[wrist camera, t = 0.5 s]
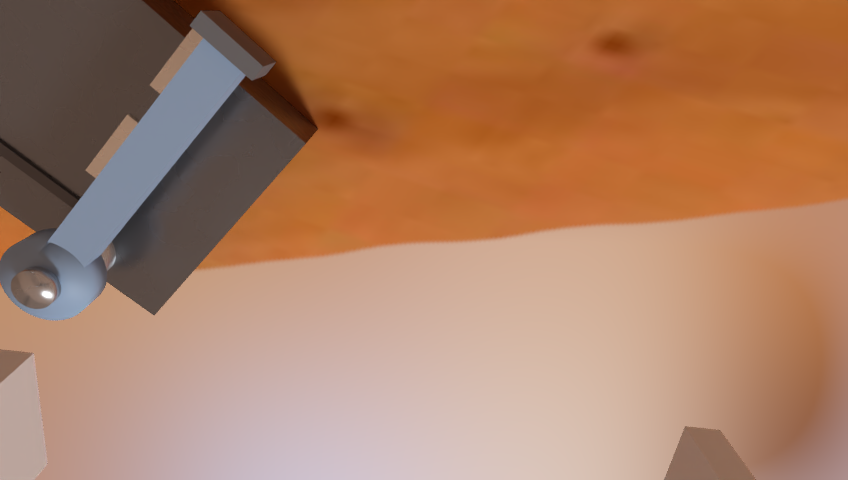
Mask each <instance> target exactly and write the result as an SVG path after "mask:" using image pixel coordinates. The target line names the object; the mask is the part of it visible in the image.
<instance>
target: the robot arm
mask: <svg viewBox="0 0 848 480" xmlns="http://www.w3.org/2000/svg"><path fill="white" fill-rule="evenodd" d="M47 464H48V463H47V455H46V447H45V439H44V431H43V424H42V416H41V407H40V399H39V391H38V384H37V375H36V367H35V360H34V353H27V352H19V351H10V350H0V480H35V479H36V477H37V476H38V475H39V474H40V472H41V471H42V470H43V469H44V468H45V466H46V465H47ZM664 480H756V479H755V478H754V476H753V475H752V473H751V472H750V471H749V470H748V468H747V467H746V465H745V464H744V462H743V461H742V460H741V458H740V457H739V456H738V454H737V453H736V451H735V450H734V449H733V447H732V446H731V444H730V443H729V442H728V440H727V439H726V438H725V436H724V435H723V434H722V432H721V431H720V430H713V429H704V428H696V427H687V426H686V427H685V428H684V431H683V433H682V436H681V438H680V441H679V444H678V446H677V449H676V451H675V454H674V456H673V459H672V461H671V464H670V466H669V469H668V471H667V474H666V477H665V479H664Z"/></svg>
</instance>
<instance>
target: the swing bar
mask: <svg viewBox="0 0 848 480" xmlns="http://www.w3.org/2000/svg"><path fill="white" fill-rule="evenodd" d="M190 27H191V28H193V29H194V30H195V31H196V32H197V33H198V34H199V35H201V36H202V37H203V39H202V40H201V42H200V43H199V44H198V46H197V47H196V48H195V49H194V51H193V52H192V53H191V55H190V56H189V57H188V59H187V60H186V61H185V63H184V64H183V65H182V66H181V68H180V69H179V70H178V72H177V73H176V74H175V76H174V77H173V78H172V80H171V81H170V82H169V83H168V85H167V86H166V87H165V89H164V90H163V91H162V93H161V94H160V95H159V97H158V98H157V99H156V100H155V102H154V103H153V104H152V106H151V107H150V108H149V110H148V111H147V112H146V114H145V115H144V116H143V117H142V119H141V120H140V121H139V123H138V124H137V125H136V127H135V128H134V129H133V131H132V132H131V133H130V134H129V136H128V137H127V138H126V140H125V141H124V142H123V144H122V145H121V146H120V147H119V149H118V150H117V151H116V153H115V154H114V155H113V157H112V158H111V159H110V161H109V162H108V163H107V164H106V166H105V167H104V168H103V170H102V171H101V172H100V174H99V175H98V176H97V178H96V179H95V180H94V181H93V183H92V184H91V185H90V187H89V188H88V189H87V191H86V192H85V193H84V195H83V196H82V197H81V198H80V200H79V201H78V202H77V204H76V205H75V206H74V208H73V209H72V210H71V212H70V213H69V214H68V215H67V217H66V218H65V219H64V221H63V222H62V223H61V225H60V226H59V227H58V228H50V229H44V230H40V231H38V232H36V233H34V234H32V235H30V236H29V237H27V238H25V239H23V240H22V241H20V242H18V243H16V244H15V245H13V246H11V247H10V248H9V249H8V250H7V251H6V252H5V253H4V254H3V256H2V258H1V260H0V283H1V285H2V288H3V289H4V291H5V293H6V294H7V296H8V297H9V298H10V299H11V301H12V302H13V303H15V305H17V306H18V307H19V308H20V309H22V310H23V311H25V312H27V313H28V314H30V315H33V316H35V317H38V318H42V319H46V320H64V319H68V318H71V317H74V316H76V315H77V314H78V313H80V312H81V311H82V310H84V309H85V308H86V307H87V306H88V305H89V304H90V303H91V302H92V301H93V300H95V299H96V298H97V297H98V296H99V295H100V294H101V292H102V291H103V289H104V288H105V285H106V282H107V269H106V265H105V262H104V260H103V258H102V256H101V254H102V253H103V252H104V250H105V249H106V248H107V247H108V245H109V244H110V243H111V242H112V240H113V239H114V238H115V237H116V235H117V234H118V233H119V232H120V231H121V229H122V228H123V227H124V226H125V224H126V223H127V222H128V221H129V219H130V218H131V217H132V216H133V214H134V213H135V212H136V211H137V210H138V208H139V207H140V206H141V205H142V203H143V202H144V201H145V200H146V198H147V197H148V196H149V195H150V193H151V192H152V191H153V190H154V188H155V187H156V186H157V185H158V184H159V182H160V181H161V180H162V179H163V177H164V176H165V175H166V174H167V172H168V171H169V170H170V169H171V167H172V166H173V165H174V164H175V163H176V161H177V160H178V159H179V158H180V156H181V155H182V154H183V153H184V151H185V150H186V149H187V148H188V146H189V145H190V144H191V143H192V141H193V140H194V139H195V138H196V137H197V135H198V134H199V133H200V132H201V130H202V129H203V128H204V127H205V125H206V124H207V123H208V122H209V120H210V119H211V118H212V117H213V116H214V114H215V113H216V112H217V111H218V109H219V108H220V107H221V106H222V104H223V103H224V102H225V101H226V99H227V98H228V97H229V96H230V94H231V93H232V92H233V91H234V90H235V88H236V87H237V86H238V85H239V83H240V82H241V81H242V80H243V78H244V77H245V76H247V77H248V78H249V79H250V80H252V81H253V80H255V79H257V78H260V77H262V76H265V75H266V74H267V73H268V72H269V70H270V69H271V68H272V67H273V66H274V64H275V63H276V61H275V60H274V59H272V58H271V57H270V56H269V55H268V54H267V53H266V52H265V51H264V50H263V49H261V48H260V47H259V46H258V45H257V44H256V43H255V42H254V41H253V40H251V39H250V38H249V37H248V36H247V35H246V34H245V33H244V32H243V31H242V30H240V29H239V28H238V27H237V26H236V25H235V24H234V23H233V22H232V21H231V20H229V19H228V18H227V17H226V16H225V15H224V14H223V13H222V12H221V11H200V12H199V14H198V15H197V16H196V18H195V19H194V20H193V22H192V23H191V24H190ZM32 266H38V267H43V268H45V269H48V270H49V271H51V272H52V273H53V274H54V275H55V276H56V277H57V278H58V280H59V281H60V284H61V294H60V296H59V297H58V299H56V300H55V301H54V302H53V303H51V304H50V305H49V306H47V307H46V308H42V309H32V308H29V307H26V306H24V305H23V304H21V303H20V302H19V301H17V299H16V298H15V297H14V295H13V294H12V291H11V281H12V279H13V277H14V276H15V275H17V274H18V273H20V272H21V271H23V270H24V269H26V268H28V267H32Z"/></svg>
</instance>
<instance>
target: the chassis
mask: <svg viewBox="0 0 848 480" xmlns="http://www.w3.org/2000/svg"><path fill="white" fill-rule="evenodd" d="M193 20H194V18H193V17H192V16H191V15H189V14H188V13H187V12H186V11H185V10H184V9H183V8H182V7H180V6H179V5H178V4H177V3H176V2H175V1H174V0H0V206H1V207H2V208H3V209H5V210H6V211H8V212H9V213H10V214H12V215H13V216H15V217H16V218H18V219H19V220H20V221H22V222H23V223H25V224H26V225H27V226H29V227H30V228H32V229H33V230H34V231H36V232H38V231H40V230H44V229H50V228H58V227H59V226H60V225H61V223H62V222H63V221H64V219H65V218H66V217H67V215H68V214H69V213H70V212H71V210H72V209H73V208H74V206H75V205H76V204H77V202H78V201H79V200H80V198H81V197H82V196H83V195H84V193H85V192H86V191H87V189H88V188H89V187H90V185H91V184H92V183H93V181H94V180H95V179H96V178H97V176H98V175H99V174H100V172H101V171H102V170H103V168H104V167H105V166H106V164H107V163H108V162H109V161H110V159H111V158H112V157H113V155H114V154H115V153H116V151H117V150H118V149H119V147H120V146H121V145H122V144H123V142H124V141H125V140H126V138H127V137H128V136H129V134H130V133H131V132H132V131H133V129H134V128H135V127H136V125H137V124H138V123H139V121H140V120H141V119H142V117H143V116H144V115H145V114H146V112H147V111H148V110H149V108H150V107H151V106H152V104H153V103H154V102H155V100H156V99H157V98H158V97H159V95H160V94H161V93H162V91H163V90H164V89H165V87H166V86H167V85H168V83H169V82H170V81H171V80H172V78H173V77H174V76H175V74H176V73H177V72H178V70H179V69H180V68H181V66H182V65H183V64H184V63H185V61H186V60H187V59H188V57H189V56H190V55H191V53H192V52H193V51H194V49H195V48H196V47H197V46H198V44H199V43H200V42H201V40H202V39H203V37H202V36H201V35H199V34H198V33H197V32H196V31H195V30H194V29H193V28H191V27H190V24H191V23H192V22H193ZM317 130H318V128H317V127H315V126H314V125H313V124H312V123H311V122H310V121H309V120H308V119H306V118H305V117H304V116H303V115H302V114H301V113H300V112H299V111H297V110H296V109H295V108H294V107H293V106H292V105H291V104H290V103H288V102H287V101H286V100H285V99H284V98H283V97H282V96H281V95H279V94H278V93H277V92H276V91H275V90H274V89H273V88H272V87H270V86H269V85H268V84H267V83H266V82H265V81H264V80H263V79H261V78H257V79H255V80H253V81H252V80H250V79H249V78H248V77H247V76H245V77H244V78H243V80H242V81H241V82H240V83H239V85H238V86H237V87H236V88H235V90H234V91H233V92H232V93H231V94H230V96H229V97H228V98H227V99H226V101H225V102H224V103H223V104H222V106H221V107H220V108H219V109H218V111H217V112H216V113H215V114H214V116H213V117H212V118H211V119H210V120H209V122H208V123H207V124H206V125H205V127H204V128H203V129H202V130H201V132H200V133H199V134H198V135H197V137H196V138H195V139H194V140H193V141H192V143H191V144H190V145H189V146H188V148H187V149H186V150H185V151H184V153H183V154H182V155H181V156H180V158H179V159H178V160H177V161H176V163H175V164H174V165H173V166H172V167H171V169H170V170H169V171H168V172H167V174H166V175H165V176H164V177H163V179H162V180H161V181H160V182H159V184H158V185H157V186H156V187H155V188H154V190H153V191H152V192H151V193H150V195H149V196H148V197H147V198H146V200H145V201H144V202H143V203H142V205H141V206H140V207H139V208H138V210H137V211H136V212H135V213H134V214H133V216H132V217H131V218H130V219H129V221H128V222H127V223H126V224H125V226H124V227H123V228H122V229H121V231H120V232H119V233H118V234H117V235H116V237H115V238H114V239H113V240H112V242H111V243H110V244H109V245H108V247H107V248H106V249H105V250H104V252H103V253H102V254H101V256H102V258H103V260H104V262H105V265H106V269H107V282H108V283H109V284H111V285H112V286H113V287H115V288H116V289H118V290H119V291H120V292H122V293H123V294H125V295H126V296H127V297H129V298H131V299H132V300H133V301H135V302H136V303H137V304H139V305H140V306H142V307H143V308H144V309H146V310H147V311H149V312H150V313H152V314H153V315H155V314H156V313H157V312H158V311H159V309H160V308H161V307H162V306H163V305H164V304H165V302H166V301H167V300H168V299H169V298H170V297H171V296H172V295H173V293H174V292H175V291H176V290H177V289H178V288H179V287H180V286H181V284H182V283H183V282H184V281H185V280H186V278H188V276H189V275H190V274H191V273H192V272H193V271H194V270H195V269H196V267H197V266H198V265H199V264H200V263H201V262H202V261H203V259H204V258H205V257H206V256H207V255H208V254H209V253H210V252H211V250H212V249H213V248H214V247H215V246H216V245H217V244H218V242H219V241H220V240H221V239H222V238H223V237H224V236H225V234H226V233H227V232H228V231H229V230H230V229H231V228H232V227H233V225H234V224H235V223H236V222H237V221H238V220H239V219H240V217H241V216H242V215H243V214H244V213H245V212H246V211H247V210H248V208H249V207H250V206H251V205H252V204H253V203H254V202H255V200H256V199H257V198H258V197H259V196H260V195H261V194H262V192H263V191H264V190H265V189H266V188H267V187H268V186H269V185H270V183H271V182H272V181H273V180H274V179H275V178H276V177H277V175H278V174H279V173H280V172H281V171H282V170H283V169H284V168H285V166H286V165H287V164H288V163H289V162H290V161H291V160H292V158H293V157H294V156H295V155H296V154H297V153H298V152H299V151H300V149H301V148H302V147H303V146H304V145H305V144H306V143H307V141H308V140H309V139H310V138H311V137H312V135H313V134H314V133H315V132H316V131H317ZM11 291H12V294H13V295H14V297H15V298H16V299H17V301H19V302H20V303H21V304H23V305H24V306H26V307H29V308H32V309H42V308H46V307H47V306H49V305H50V304H51V303H53V302H54V301H55V300H56V299H58V297H59V296H60V294H61V284H60V281H59V280H58V278H57V277H56V276H55V275H54V274H53V273H52V272H51V271H49V270H48V269H45V268H43V267H38V266H32V267H28V268H26V269H24V270H23V271H21V272H20V273H18V274H17V275H15V276H14V277H13V279H12V281H11Z"/></svg>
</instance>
